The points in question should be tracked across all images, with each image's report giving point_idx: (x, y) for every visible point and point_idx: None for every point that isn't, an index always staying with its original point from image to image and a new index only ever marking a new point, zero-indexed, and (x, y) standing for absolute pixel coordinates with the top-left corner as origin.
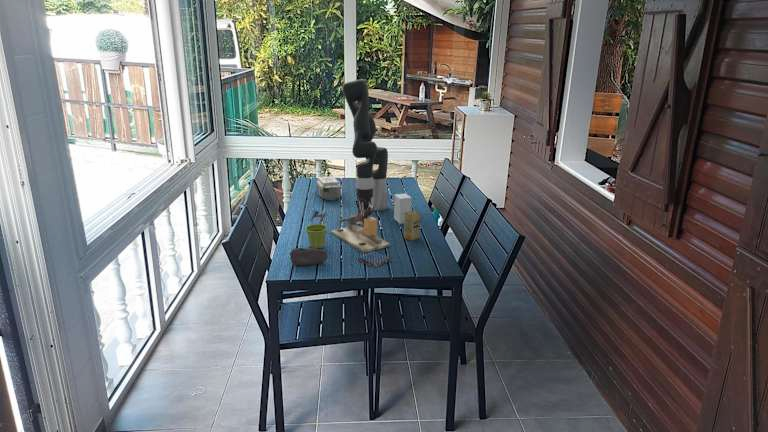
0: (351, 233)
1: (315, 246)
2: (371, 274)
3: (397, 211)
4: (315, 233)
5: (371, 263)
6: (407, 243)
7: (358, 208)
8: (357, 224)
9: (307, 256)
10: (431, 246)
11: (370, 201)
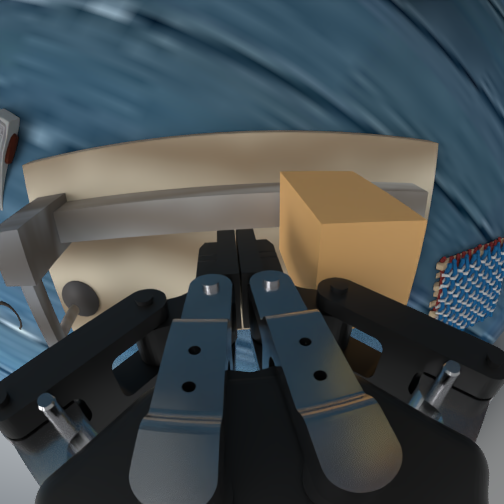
0: (152, 266)
1: None
2: (496, 328)
3: None
4: None
5: (480, 315)
6: (444, 38)
7: (129, 392)
8: (7, 153)
9: None
10: (501, 3)
11: (483, 487)
